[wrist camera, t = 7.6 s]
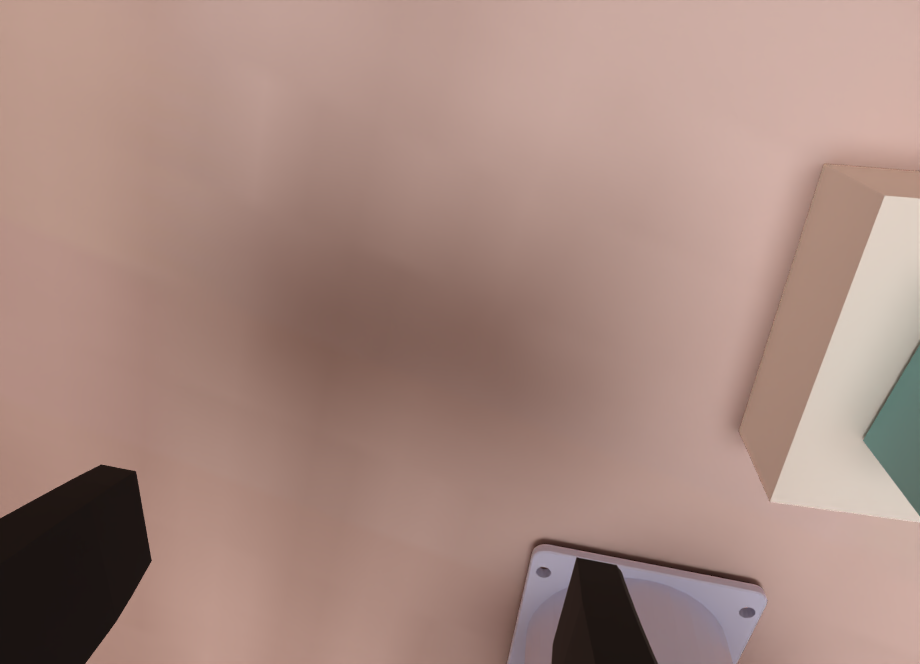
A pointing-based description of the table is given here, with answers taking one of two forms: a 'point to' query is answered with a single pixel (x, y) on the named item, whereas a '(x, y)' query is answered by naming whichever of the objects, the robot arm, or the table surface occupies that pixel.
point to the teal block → (900, 433)
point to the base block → (840, 345)
